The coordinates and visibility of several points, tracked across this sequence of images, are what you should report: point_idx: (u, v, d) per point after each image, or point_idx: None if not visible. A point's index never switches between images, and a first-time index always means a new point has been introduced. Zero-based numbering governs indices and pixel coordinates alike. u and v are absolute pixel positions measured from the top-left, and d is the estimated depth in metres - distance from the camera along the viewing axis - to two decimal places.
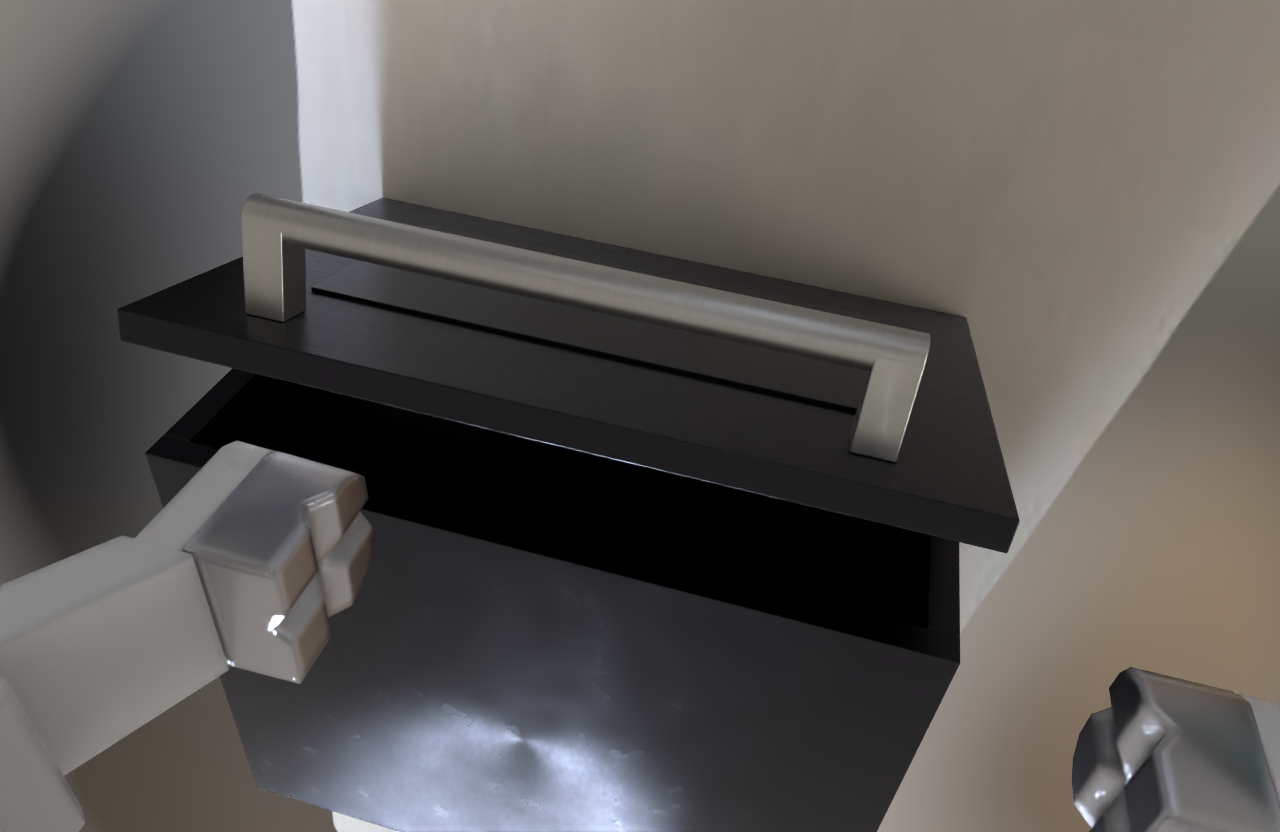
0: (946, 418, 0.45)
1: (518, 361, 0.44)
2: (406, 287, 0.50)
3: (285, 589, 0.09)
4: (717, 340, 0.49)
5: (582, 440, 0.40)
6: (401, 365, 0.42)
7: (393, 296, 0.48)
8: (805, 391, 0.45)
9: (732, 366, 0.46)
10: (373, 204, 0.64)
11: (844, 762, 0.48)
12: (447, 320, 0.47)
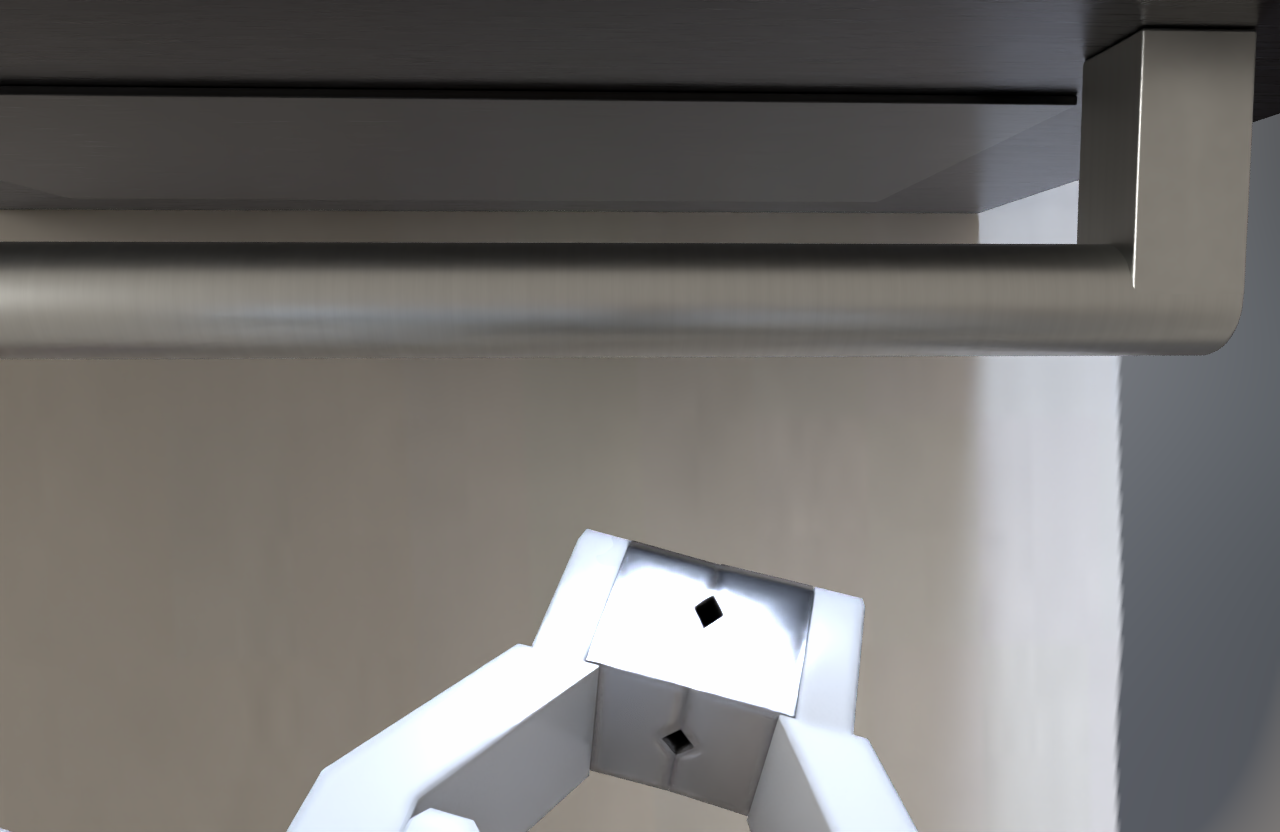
0: None
1: (492, 48, 0.17)
2: (861, 131, 0.23)
3: (687, 698, 0.09)
4: (200, 144, 0.24)
5: None
6: None
7: (878, 116, 0.21)
8: None
9: (88, 116, 0.21)
10: (990, 206, 0.37)
11: None
12: (735, 92, 0.20)
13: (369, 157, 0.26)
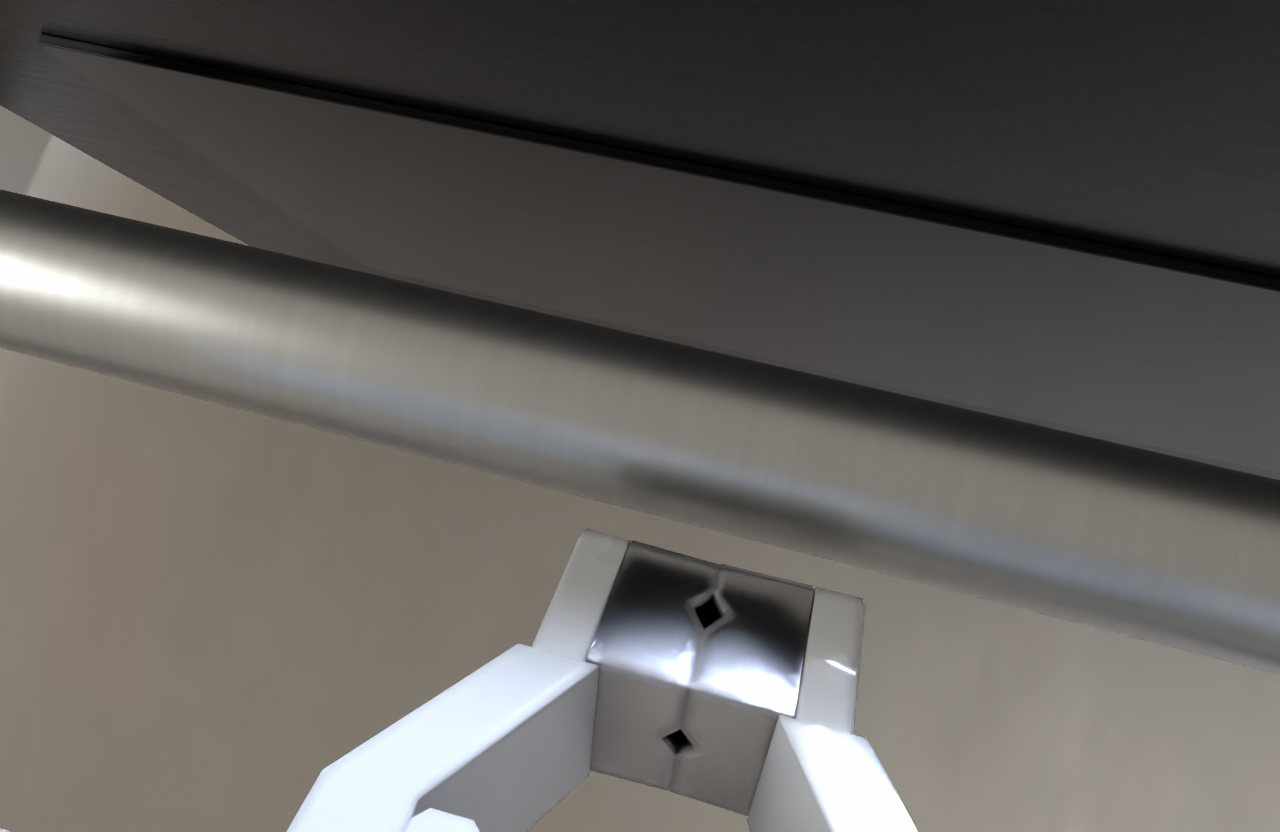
0: None
1: (1058, 149, 0.11)
2: None
3: (688, 698, 0.09)
4: (548, 226, 0.20)
5: None
6: None
7: None
8: (234, 96, 0.17)
9: (450, 161, 0.17)
10: None
11: None
12: None
13: (728, 283, 0.21)
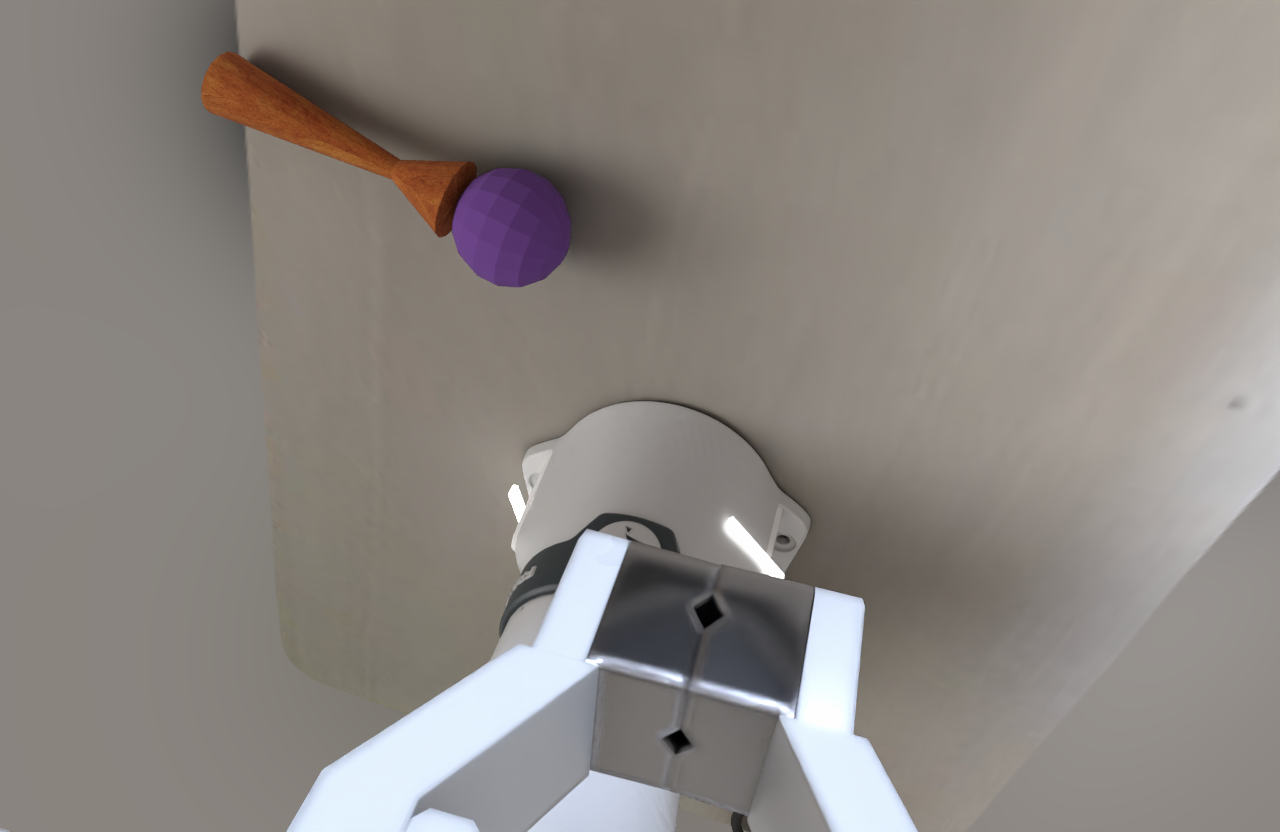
0: None
1: None
2: None
3: (687, 699, 0.09)
4: None
5: None
6: None
7: None
8: None
9: None
10: None
11: None
12: None
13: None
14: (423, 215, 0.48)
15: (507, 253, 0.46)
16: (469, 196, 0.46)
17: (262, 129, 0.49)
